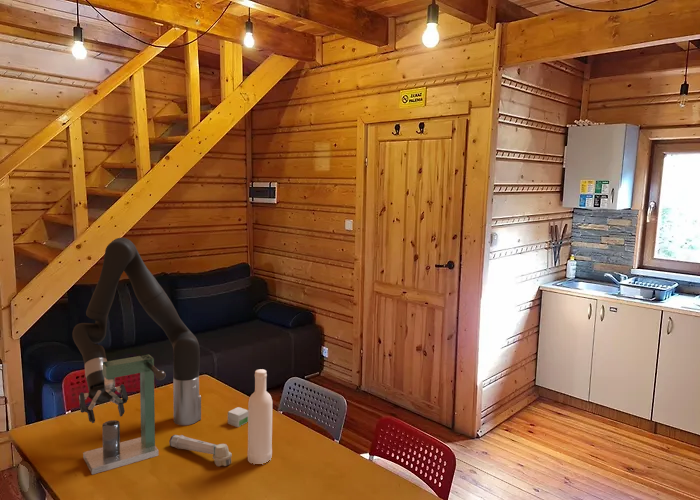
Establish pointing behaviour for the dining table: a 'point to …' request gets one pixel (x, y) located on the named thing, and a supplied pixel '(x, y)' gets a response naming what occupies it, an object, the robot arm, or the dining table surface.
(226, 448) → the white handheld tool
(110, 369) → the press
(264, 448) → the bottle
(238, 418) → the small box
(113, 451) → the cylinder
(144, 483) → the dining table surface
